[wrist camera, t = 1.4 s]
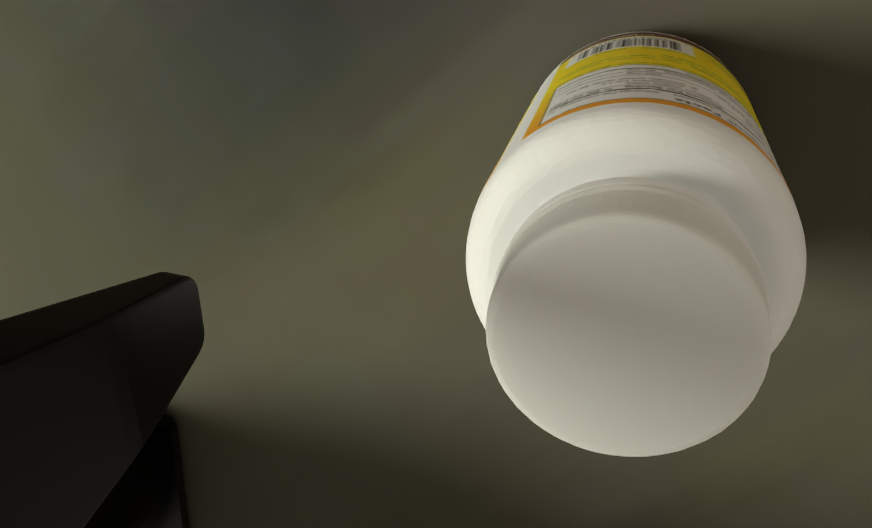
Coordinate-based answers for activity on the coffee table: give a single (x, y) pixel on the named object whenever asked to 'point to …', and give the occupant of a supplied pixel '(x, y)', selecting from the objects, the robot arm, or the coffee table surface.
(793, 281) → the supplement bottle
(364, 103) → the coffee table surface
